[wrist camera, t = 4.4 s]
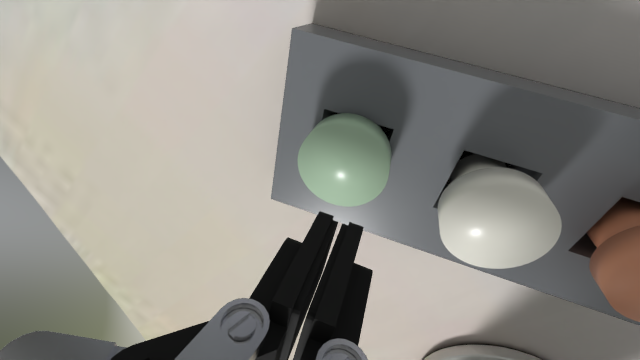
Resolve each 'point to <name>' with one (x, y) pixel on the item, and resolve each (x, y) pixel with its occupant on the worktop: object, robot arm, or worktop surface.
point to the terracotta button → (618, 257)
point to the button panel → (461, 146)
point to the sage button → (345, 160)
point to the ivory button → (496, 215)
